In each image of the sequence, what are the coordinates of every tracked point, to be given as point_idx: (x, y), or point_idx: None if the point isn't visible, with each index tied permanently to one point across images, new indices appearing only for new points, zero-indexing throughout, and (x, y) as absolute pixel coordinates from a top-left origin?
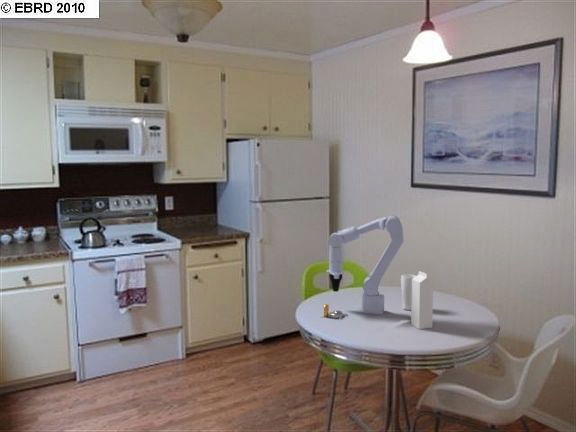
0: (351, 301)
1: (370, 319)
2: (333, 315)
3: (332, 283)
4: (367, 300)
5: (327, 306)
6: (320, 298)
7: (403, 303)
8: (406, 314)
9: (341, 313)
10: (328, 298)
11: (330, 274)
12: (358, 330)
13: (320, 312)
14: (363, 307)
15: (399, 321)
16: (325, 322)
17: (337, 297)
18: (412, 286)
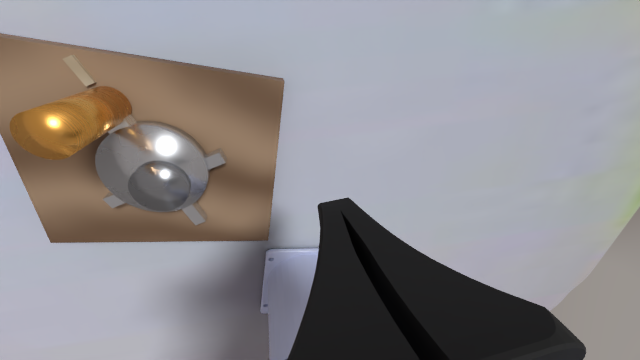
0: (473, 188)
1: (225, 285)
2: (103, 163)
3: (313, 280)
4: (271, 341)
5: (33, 148)
6: (580, 10)
7: None
8: None
9: (163, 205)
10: (559, 67)
11: (577, 358)
12: (32, 276)
13: (278, 38)
14: (283, 285)
15: (234, 347)
16: None
17: (555, 118)
18: None
